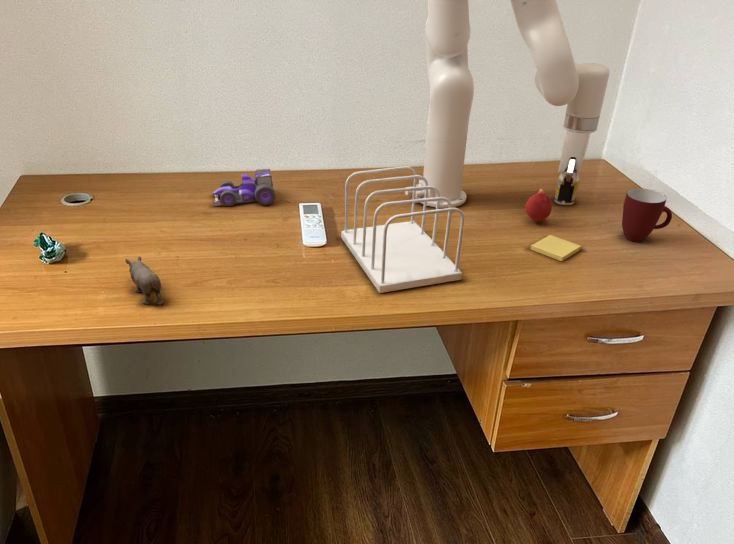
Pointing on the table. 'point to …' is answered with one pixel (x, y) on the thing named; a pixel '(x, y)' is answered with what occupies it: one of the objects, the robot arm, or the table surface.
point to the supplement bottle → (573, 191)
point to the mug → (643, 213)
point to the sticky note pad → (555, 247)
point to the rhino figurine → (145, 280)
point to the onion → (539, 206)
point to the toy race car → (247, 190)
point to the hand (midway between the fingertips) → (566, 193)
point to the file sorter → (401, 240)
